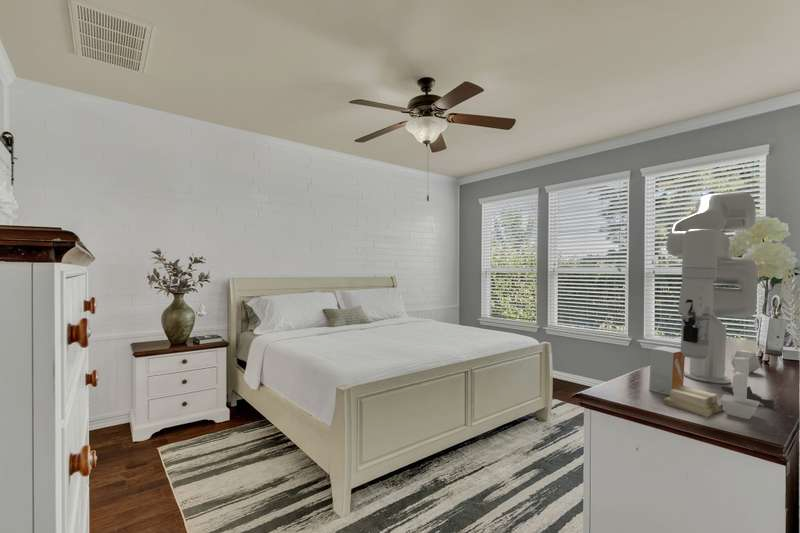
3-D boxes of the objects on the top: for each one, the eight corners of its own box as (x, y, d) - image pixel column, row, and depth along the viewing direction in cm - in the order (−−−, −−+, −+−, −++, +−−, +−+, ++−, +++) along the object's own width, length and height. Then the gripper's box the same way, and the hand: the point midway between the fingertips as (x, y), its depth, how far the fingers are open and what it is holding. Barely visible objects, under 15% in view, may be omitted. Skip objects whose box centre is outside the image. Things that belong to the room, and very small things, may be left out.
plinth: (680, 398, 113) (681, 384, 113) (722, 409, 105) (723, 395, 105) (663, 403, 108) (664, 389, 108) (707, 416, 99) (707, 401, 99)
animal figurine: (772, 410, 109) (777, 394, 108) (771, 414, 106) (777, 397, 105) (720, 392, 117) (724, 377, 117) (718, 395, 114) (722, 379, 114)
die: (737, 369, 151) (722, 349, 151) (764, 362, 145) (749, 341, 146) (740, 381, 145) (724, 360, 145) (768, 375, 139) (752, 353, 139)
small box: (671, 396, 114) (673, 352, 114) (648, 390, 119) (650, 348, 119) (683, 392, 119) (685, 349, 118) (660, 386, 124) (662, 345, 124)
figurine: (718, 414, 101) (721, 357, 101) (724, 406, 107) (726, 352, 107) (756, 424, 96) (759, 363, 95) (759, 414, 102) (762, 357, 102)
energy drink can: (698, 354, 109) (700, 301, 109) (713, 360, 103) (716, 303, 103) (675, 353, 109) (677, 300, 109) (689, 359, 103) (691, 302, 103)
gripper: (696, 274, 113) (693, 336, 114) (668, 273, 104) (665, 340, 104) (728, 275, 107) (725, 341, 107) (701, 275, 98) (698, 346, 98)
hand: (695, 340), depth 106 cm, fingers closed on energy drink can, 6 cm apart
